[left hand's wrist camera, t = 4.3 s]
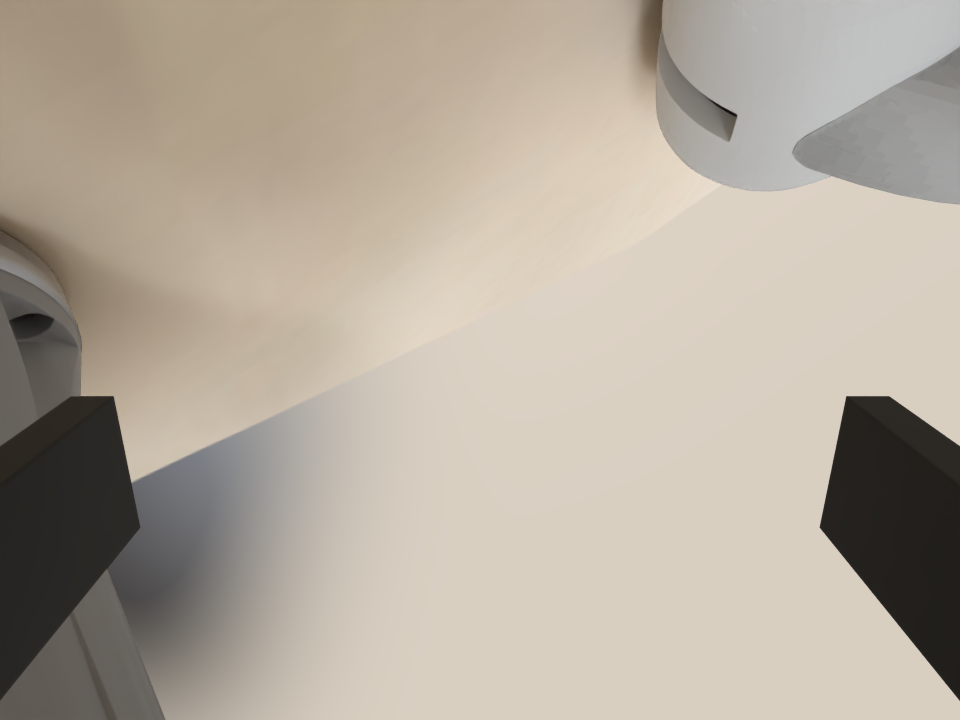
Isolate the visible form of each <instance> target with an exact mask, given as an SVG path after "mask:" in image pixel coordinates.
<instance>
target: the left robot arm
mask: <svg viewBox="0 0 960 720" xmlns="http://www.w3.org/2000/svg"><path fill="white" fill-rule="evenodd" d="M81 350H82V345H81V336H80V332H79V329H78V326H77V323H76V321H75V319H74V316H73V314H72V311H71V309H70V307H69V304H68V302H67V299H66V297H65V295H64V292H63V290H62V287H61V286H60V284H59V282H58V280H57V278H56V276H55V275H54V273H53V272H52V271H51V270H50V268H49V267H48V266H47V264H46V263H45V262H43V261H42V260H41V259H40V258H39V257H38V256H37V255H36V254H35V253H34V252H33V251H31V250H30V249H29V248H27V247H26V246H25V245H23V244H22V243H21V242H19V241H17V240H16V239H14V238H12V237H11V236H9V235H7V234H6V233H4V232H2V231H0V720H165V718H164V715H163V712H162V710H161V707H160V705H159V702H158V699H157V697H156V694H155V692H154V689H153V687H152V684H151V681H150V679H149V676H148V674H147V671H146V669H145V666H144V663H143V661H142V658H141V656H140V653H139V651H138V648H137V645H136V643H135V640H134V638H133V635H132V632H131V630H130V627H129V625H128V622H127V620H126V617H125V614H124V612H123V609H122V607H121V604H120V602H119V599H118V596H117V594H116V591H115V589H114V586H113V584H112V581H111V578H110V576H109V573H108V571H107V568H108V567H109V566H110V564H111V563H112V562H113V561H114V559H115V558H116V557H117V556H118V554H119V553H120V552H121V551H122V550H123V548H124V547H125V546H126V545H127V543H128V542H129V541H130V540H131V538H132V537H133V536H134V535H135V533H136V532H137V531H138V530H139V528H140V524H139V519H138V514H137V509H136V504H135V499H134V494H133V489H132V484H131V479H130V474H129V470H128V465H127V460H126V455H125V450H124V445H123V440H122V435H121V430H120V425H119V420H118V416H117V411H116V406H115V401H114V396H80V394H81ZM820 528H821V530H822V531H823V532H824V533H825V535H826V536H827V537H828V538H829V540H830V541H831V542H832V543H833V544H834V546H835V547H836V548H837V549H838V551H839V552H840V553H841V554H842V556H843V557H844V558H845V559H846V561H847V562H848V563H849V564H850V566H851V567H852V568H853V569H854V571H855V572H856V573H857V574H858V575H859V577H860V578H861V579H862V580H863V582H864V583H865V584H866V585H867V587H868V588H869V589H870V590H871V591H872V593H873V594H874V595H875V596H876V598H877V599H878V600H879V601H880V603H881V604H882V605H883V606H884V608H885V609H886V610H887V611H888V613H889V614H890V615H891V616H892V618H893V619H894V620H895V621H896V622H897V624H898V625H899V626H900V627H901V629H902V630H903V631H904V632H905V634H906V635H907V636H908V637H909V639H910V640H911V641H912V642H913V643H914V645H915V646H916V647H917V648H918V650H919V651H920V652H921V653H922V655H923V656H924V657H925V658H926V660H927V661H928V662H929V663H930V664H931V666H932V667H933V668H934V669H935V671H936V672H937V673H938V674H939V676H940V677H941V678H942V679H943V681H944V682H945V683H946V684H947V685H948V687H949V688H950V689H951V690H952V692H953V693H954V694H955V695H956V697H957V698H958V699H959V700H960V446H959V445H957V444H956V443H955V442H953V441H952V440H950V439H949V438H947V437H946V436H945V435H943V434H942V433H940V432H939V431H938V430H936V429H935V428H933V427H932V426H930V425H929V424H928V423H926V422H925V421H923V420H922V419H921V418H919V417H918V416H916V415H915V414H913V413H912V412H911V411H909V410H908V409H906V408H905V407H904V406H902V405H901V404H899V403H898V402H896V401H895V400H894V399H892V398H891V397H889V396H847V397H846V401H845V406H844V411H843V416H842V421H841V425H840V430H839V435H838V440H837V445H836V450H835V455H834V460H833V465H832V470H831V475H830V479H829V484H828V489H827V494H826V499H825V504H824V509H823V514H822V519H821V524H820Z"/></svg>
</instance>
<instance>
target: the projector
mask: <svg viewBox="0 0 960 720" xmlns="http://www.w3.org/2000/svg"><path fill="white" fill-rule="evenodd" d="M656 109H657V118H658V122H659V125H660V129H661V131H662V133H663V135H664V137H665V139H666V141H667V142H668V144H669V145H670V147H671V148H672V150H673V151H674V152H675V154H676V155H677V156H678V157H679V158H680V159H681V160H682V161H683V162H684V163H685V164H686V165H687V166H688V167H690V168H691V169H693V170H694V171H695V172H697V173H699V174H700V175H702V176H704V177H706V178H708V179H710V180H713V181H715V182H717V183H720V184H723V185H726V186H729V187H733V188H738V189H743V190H749V191H782V190H788V189H793V188H797V187H801V186H804V185H808V184H811V183H814V182H817V181H820V180H823V179H826V178H828V177H830V176H833V177H836V178H840V179H843V180H846V181H849V182H852V183H855V184H859V185H862V186H866V187H870V188H874V189H878V190H882V191H886V192H889V193H893V194H897V195H901V196H907V197H912V198H918V199H923V200H929V201H934V202H940V203H950V204H960V0H663V6H662V30H661V34H660V39H659V47H658V59H657V74H656Z"/></svg>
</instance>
